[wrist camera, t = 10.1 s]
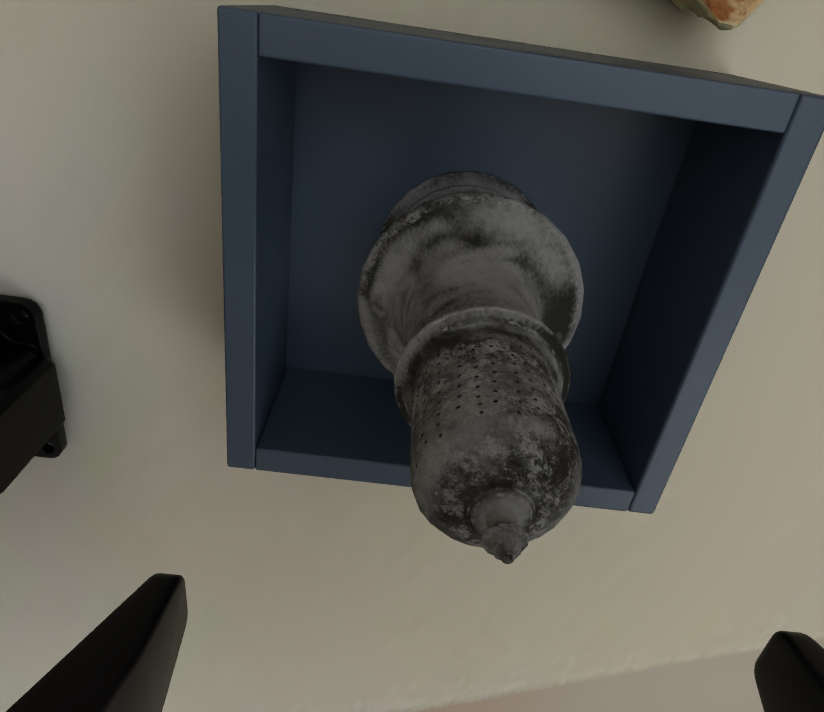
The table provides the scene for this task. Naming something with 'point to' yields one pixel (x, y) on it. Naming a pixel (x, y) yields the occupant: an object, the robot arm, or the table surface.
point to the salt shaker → (479, 355)
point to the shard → (721, 10)
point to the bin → (523, 168)
